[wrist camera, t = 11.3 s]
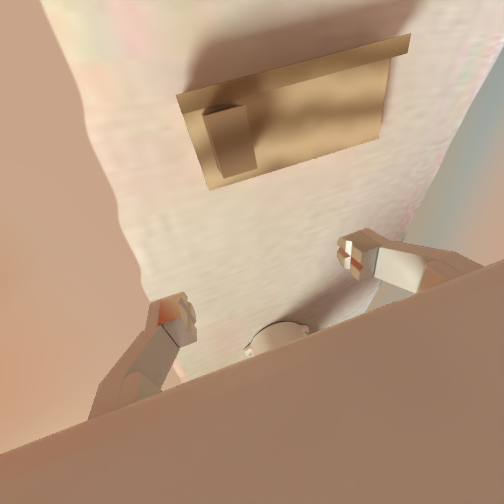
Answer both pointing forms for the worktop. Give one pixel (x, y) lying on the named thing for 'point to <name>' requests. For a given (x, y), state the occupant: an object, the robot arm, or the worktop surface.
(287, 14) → the worktop surface
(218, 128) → the brown block
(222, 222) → the worktop surface
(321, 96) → the board
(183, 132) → the worktop surface
